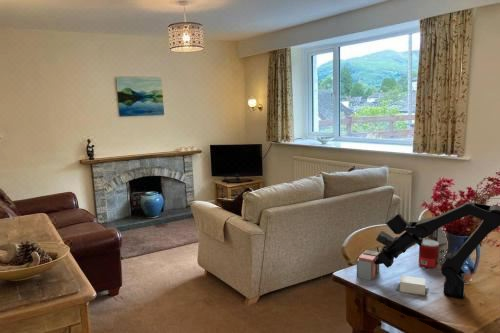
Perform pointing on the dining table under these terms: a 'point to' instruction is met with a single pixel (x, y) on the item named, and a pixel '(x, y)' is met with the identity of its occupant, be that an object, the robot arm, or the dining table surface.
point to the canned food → (429, 254)
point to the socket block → (363, 269)
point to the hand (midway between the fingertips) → (375, 263)
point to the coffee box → (439, 241)
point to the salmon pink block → (369, 259)
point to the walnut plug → (373, 253)
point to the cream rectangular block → (412, 285)
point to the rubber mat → (413, 293)
